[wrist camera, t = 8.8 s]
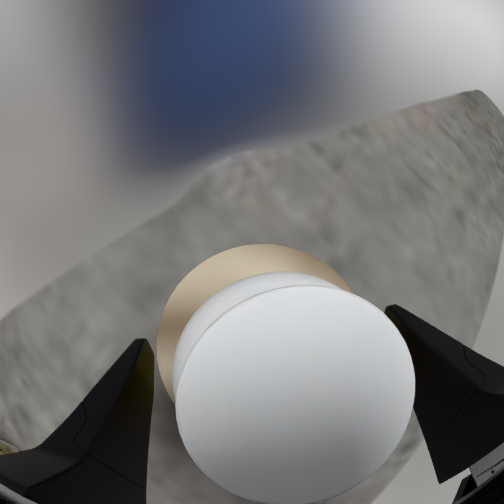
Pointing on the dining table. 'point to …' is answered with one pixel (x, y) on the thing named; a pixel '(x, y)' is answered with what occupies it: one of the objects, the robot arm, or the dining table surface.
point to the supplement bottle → (290, 388)
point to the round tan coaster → (219, 276)
